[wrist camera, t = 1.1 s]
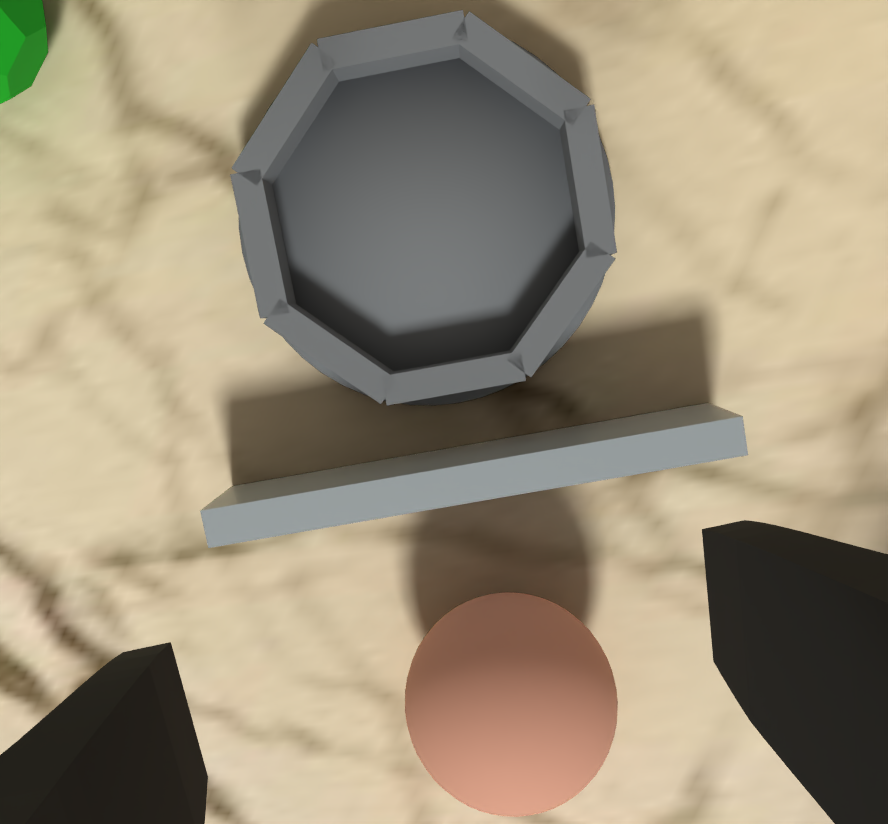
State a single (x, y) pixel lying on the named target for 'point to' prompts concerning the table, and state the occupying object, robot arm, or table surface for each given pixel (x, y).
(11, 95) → the polyhedron
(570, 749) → the ball
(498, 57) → the gray octagonal bowl
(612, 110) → the table surface
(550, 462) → the low wall
